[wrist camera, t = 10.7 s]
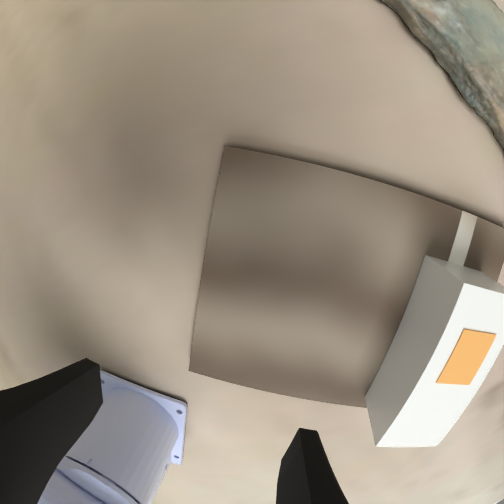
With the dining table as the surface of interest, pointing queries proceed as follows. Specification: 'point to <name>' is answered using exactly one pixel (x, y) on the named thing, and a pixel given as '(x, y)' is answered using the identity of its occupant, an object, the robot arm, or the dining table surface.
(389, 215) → the subfloor panel
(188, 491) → the dining table surface
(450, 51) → the long grey stone
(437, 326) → the block
